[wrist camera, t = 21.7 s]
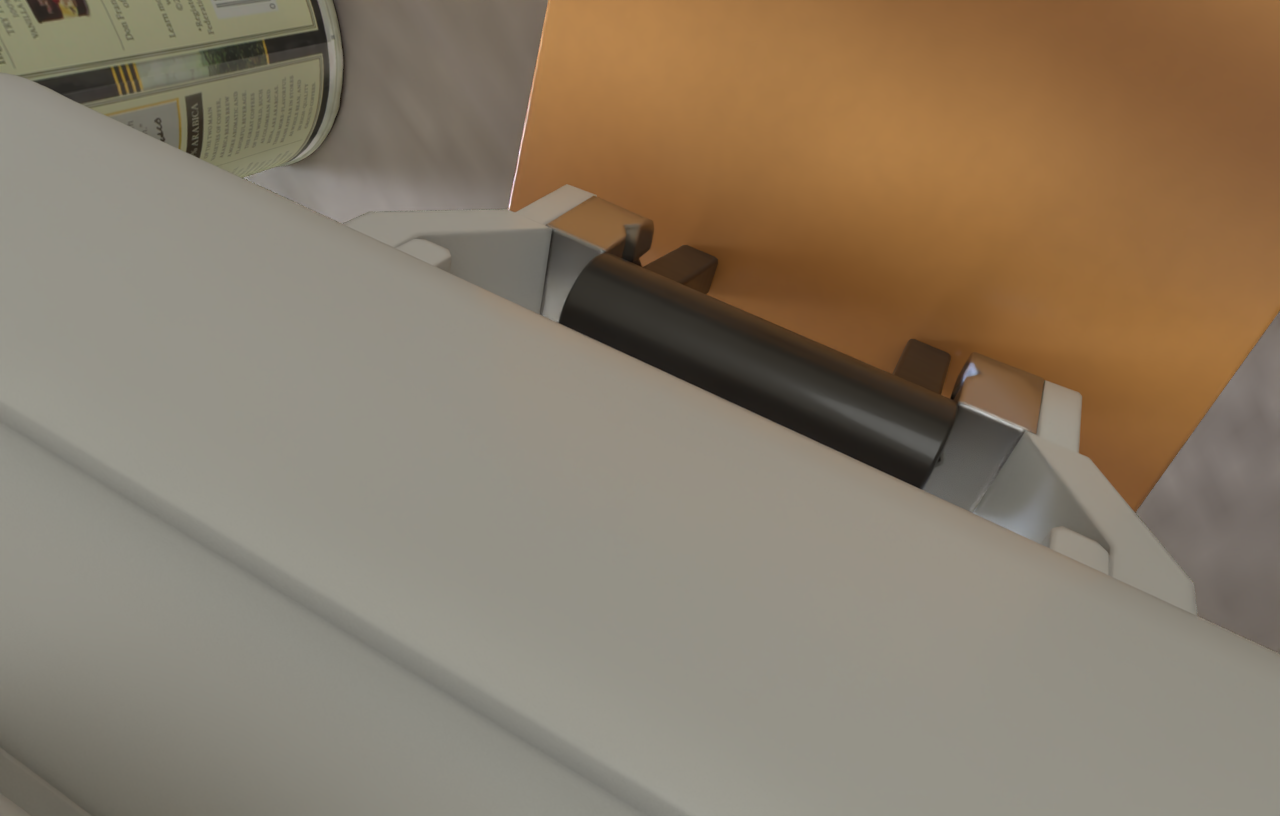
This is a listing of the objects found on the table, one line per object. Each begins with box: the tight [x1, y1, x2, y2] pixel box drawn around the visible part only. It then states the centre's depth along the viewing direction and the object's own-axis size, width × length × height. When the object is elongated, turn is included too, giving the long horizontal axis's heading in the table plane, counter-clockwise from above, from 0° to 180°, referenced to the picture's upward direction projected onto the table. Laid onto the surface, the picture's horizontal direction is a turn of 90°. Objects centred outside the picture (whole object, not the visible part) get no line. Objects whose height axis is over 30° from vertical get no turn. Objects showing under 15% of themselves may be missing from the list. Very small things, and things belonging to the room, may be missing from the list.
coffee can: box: [0, 0, 343, 178], centre depth 24 cm, size 10×10×14 cm
